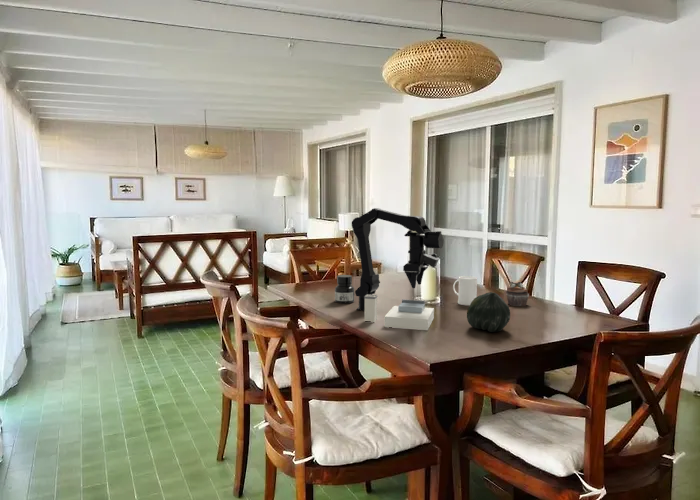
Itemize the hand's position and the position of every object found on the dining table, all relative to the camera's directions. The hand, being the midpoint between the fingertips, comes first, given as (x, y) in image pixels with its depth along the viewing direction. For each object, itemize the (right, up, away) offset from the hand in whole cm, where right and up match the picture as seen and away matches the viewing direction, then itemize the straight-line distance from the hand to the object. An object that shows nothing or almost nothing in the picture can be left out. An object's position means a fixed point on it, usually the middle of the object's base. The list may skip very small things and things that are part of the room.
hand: (416, 286), depth 200 cm
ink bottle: (-29, -9, +28) cm, 42 cm away
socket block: (-4, -13, -9) cm, 17 cm away
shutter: (-3, -9, -6) cm, 11 cm away
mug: (+25, -10, +26) cm, 37 cm away
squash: (+23, -15, -19) cm, 34 cm away
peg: (-19, -13, -7) cm, 24 cm away
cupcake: (+48, -10, +23) cm, 55 cm away
